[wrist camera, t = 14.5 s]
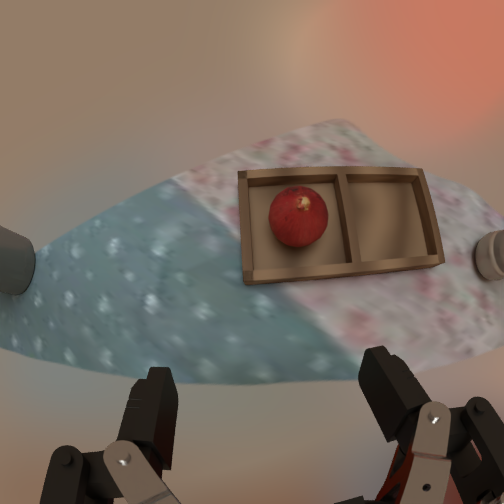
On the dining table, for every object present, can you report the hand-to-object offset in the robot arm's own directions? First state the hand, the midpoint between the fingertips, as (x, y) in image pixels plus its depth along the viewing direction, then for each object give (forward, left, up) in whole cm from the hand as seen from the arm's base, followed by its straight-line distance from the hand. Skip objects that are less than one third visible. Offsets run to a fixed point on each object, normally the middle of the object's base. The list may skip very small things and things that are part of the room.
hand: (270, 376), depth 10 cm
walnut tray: (+10, +12, -19) cm, 24 cm away
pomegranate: (+4, +12, -18) cm, 22 cm away
